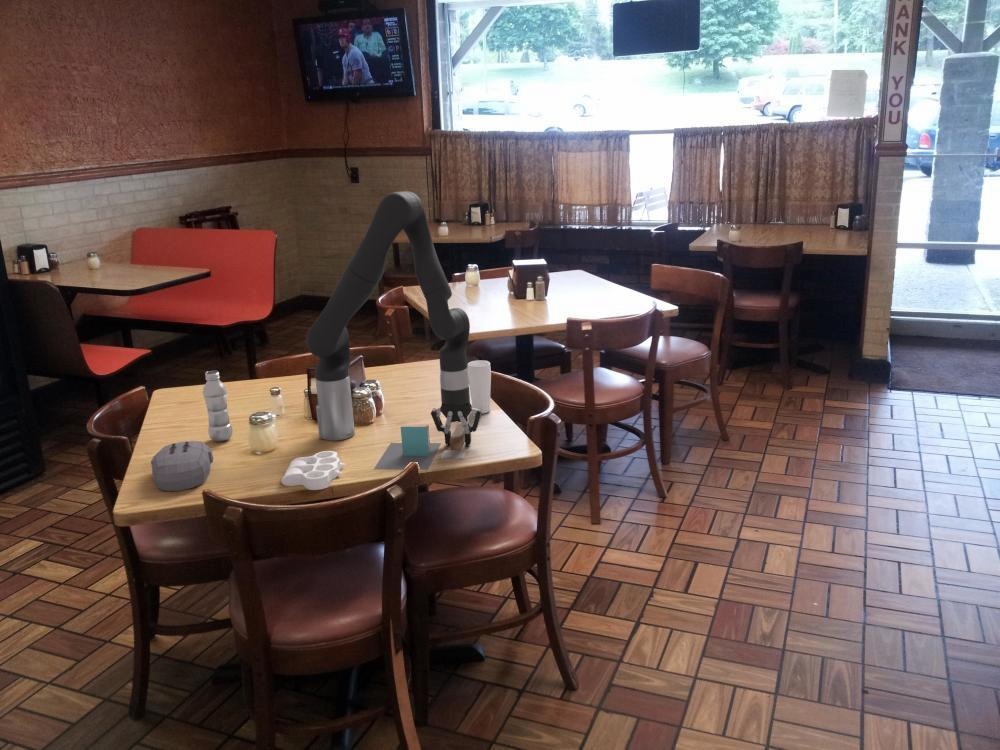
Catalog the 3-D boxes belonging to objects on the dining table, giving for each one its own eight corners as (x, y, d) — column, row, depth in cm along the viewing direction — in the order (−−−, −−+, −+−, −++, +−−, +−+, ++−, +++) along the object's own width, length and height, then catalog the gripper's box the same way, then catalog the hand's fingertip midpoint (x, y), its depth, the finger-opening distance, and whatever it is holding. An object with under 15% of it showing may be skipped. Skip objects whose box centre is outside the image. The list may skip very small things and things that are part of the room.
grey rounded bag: (157, 467, 234) (148, 498, 215) (152, 438, 231) (142, 466, 213) (216, 460, 237) (212, 489, 218) (212, 430, 235) (208, 457, 216)
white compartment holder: (294, 464, 232) (350, 461, 232) (279, 493, 215) (339, 490, 215) (293, 452, 231) (349, 449, 231) (277, 480, 214) (338, 477, 214)
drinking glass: (490, 415, 260) (487, 366, 256) (467, 415, 262) (464, 366, 257) (494, 408, 267) (492, 360, 262) (473, 407, 268) (470, 359, 264)
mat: (373, 470, 224) (373, 468, 224) (391, 444, 241) (390, 442, 241) (427, 471, 223) (427, 469, 222) (441, 444, 240) (441, 443, 239)
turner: (440, 460, 229) (439, 446, 228) (452, 437, 245) (451, 423, 244) (463, 461, 228) (462, 446, 227) (473, 437, 244) (473, 423, 243)
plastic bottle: (223, 434, 255) (213, 367, 250) (238, 438, 252) (229, 371, 246) (204, 441, 250) (194, 373, 245) (220, 445, 247) (209, 377, 241)
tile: (402, 455, 232) (400, 426, 230) (404, 452, 234) (402, 424, 232) (429, 455, 231) (426, 426, 229) (430, 452, 233) (428, 424, 231)
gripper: (425, 389, 230) (429, 450, 235) (479, 389, 228) (482, 451, 233) (430, 380, 237) (435, 440, 242) (483, 380, 235) (486, 440, 240)
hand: (458, 445), depth 237 cm, fingers open, 4 cm apart
